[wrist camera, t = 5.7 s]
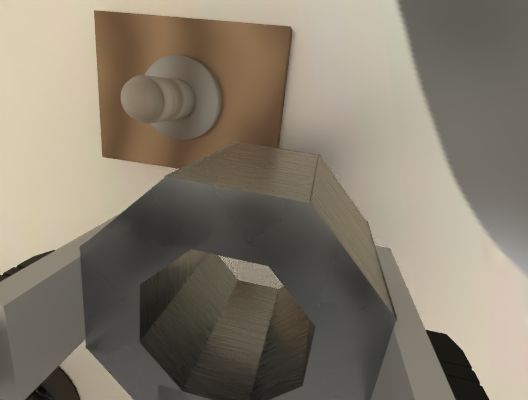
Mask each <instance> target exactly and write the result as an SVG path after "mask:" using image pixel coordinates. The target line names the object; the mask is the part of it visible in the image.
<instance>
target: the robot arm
mask: <svg viewBox="0 0 528 400" xmlns="http://www.w3.org/2000/svg"><path fill="white" fill-rule="evenodd" d="M119 215H120V214H119ZM119 215H117V216H119ZM117 216H115V217H113V218H112V219H110V220H108V221H106V222H105V223H103V224H101V225H99V226H98V227H96V228H94V229H92V230H91V231H89V232H87V233H85V234H84V235H82V236H80V237H78V238H77V239H75V240H73V241H71V242H69V243H68V244H66V245H64V246H62V247H61V248H59V249H57V250H52V251H49V252H46V253H43V254H40V255H37V256H34V257H32V258H30V259H28V260H26V261H24V262H23V263H21V264H19V265H17V267H16V268H15V267H13V268H12V269H10V270H8V271H6V272H4V273H3V275H0V400H79V398H78V395H77V392H76V390H75V388H74V386H73V385H72V383H71V382H70V380H69V379H68V378H67V376H66V375H65V374H64V373H63V372H62V371H61V370H60V369H59V368H58V366H59V365H60V364H61V363H62V362H63V361H64V360H65V359H66V358H67V357H68V356H69V355H70V354H71V353H72V352H73V351H74V350H75V349H76V348H77V347H78V346H79V345H80V344H81V343H82V342H83V341H84V340H85V339H86V336H85V320H84V304H83V289H82V273H81V257H80V249H79V248H80V245H82V244H84V243H85V242H87V241H88V240H89V239H91V238H92V237H93V236H94V235H95V234H97V233H98V232H99V231H100V230H102V229H103V228H104V227H105V226H106V225H108V224H109V223H110V222H111V221H113V220H114V219H115V218H116V217H117ZM375 247H376V251H377V254H378V257H379V260H380V264H381V267H382V270H383V274H384V277H385V280H386V283H387V287H388V290H389V293H390V296H391V300H392V303H393V306H394V310H395V313H396V316H397V321H396V323H395V326H394V328H393V331H392V334H391V337H390V341H389V344H388V347H387V350H386V353H385V356H384V360H383V363H382V366H381V369H380V372H379V375H378V378H377V381H376V384H375V388H374V391H373V394H372V397H371V400H489V398H488V396H487V394H486V393H485V391H484V389H483V387H482V386H480V382H479V380H478V378H477V376H476V374H475V372H474V371H472V367H471V365H470V363H469V361H468V360H467V358H466V356H465V354H464V352H463V350H462V349H461V348H460V347H459V346H458V345H457V344H456V343H455V342H454V341H453V340H452V339H451V338H450V337H449V336H448V335H447V334H442V333H438V332H433V331H429V330H425V328H424V326H423V323H422V321H421V319H420V316H419V314H418V312H417V309H416V307H415V305H414V303H413V300H412V298H411V296H410V293H409V291H408V289H407V286H406V284H405V282H404V279H403V277H402V275H401V273H400V270H399V268H398V266H397V263H396V261H395V259H394V256H393V254H392V252H391V250H390V248H385V247H379V246H375Z"/></svg>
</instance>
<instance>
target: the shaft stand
mask: <svg viewBox="0 0 528 400" xmlns="http://www.w3.org/2000/svg"><path fill="white" fill-rule="evenodd" d="M94 18H95V35H96V53H97V70H98V87H99V104H100V122H101V139H102V156H103V157H106V158H113V159H120V160H126V161H133V162H139V163H146V164H153V165H159V166H166V167H172V168H179V169H180V168H182V167H185V166H187V165H189V164H191V163H193V162H195V161H197V160H199V159H201V158H203V157H205V156H207V155H210V154H212V153H214V152H216V151H218V150H220V149H222V148H224V147H226V146H228V145H230V144H232V143H235V142H241V143H247V144H254V145H260V146H266V147H272V148H278V146H279V138H280V130H281V121H282V113H283V105H284V96H285V88H286V80H287V71H288V63H289V54H290V46H291V38H292V29H291V27H288V26H276V25H264V24H252V23H240V22H228V21H216V20H204V19H191V18H179V17H167V16H155V15H143V14H131V13H119V12H106V11H94Z"/></svg>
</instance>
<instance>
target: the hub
mask: <svg viewBox="0 0 528 400" xmlns="http://www.w3.org/2000/svg"><path fill="white" fill-rule="evenodd" d="M79 249H80V257H81V273H82V289H83V304H84V320H85V336H86V346H85V347H86V349H88V350H89V351H90V352H91V353H92V354H93V355H94V356H95V358H96V359H97V360H98V361H99V362H100V363H101V364H102V365H103V366H104V367H105V368H106V370H107V371H108V372H109V373H110V374H111V375H112V376H113V377H114V378H115V379H116V380H117V382H118V383H119V384H120V385H121V386H122V387H123V388H124V389H125V390H126V391H127V393H128V394H129V395H130V396H131V397H132V398H133V399H134V400H371V397H372V394H373V391H374V388H375V384H376V381H377V378H378V375H379V372H380V369H381V366H382V363H383V360H384V356H385V353H386V350H387V347H388V344H389V341H390V337H391V334H392V331H393V328H394V326H395V323H396V321H397V316H396V313H395V310H394V306H393V303H392V300H391V296H390V293H389V290H388V287H387V283H386V280H385V277H384V274H383V270H382V267H381V264H380V260H379V257H378V254H377V251H376V247H375V244H374V241H373V238H372V234H371V231H370V228H369V225H368V221H366V220H365V219H364V217H363V216H362V214H361V213H360V211H359V210H358V209H357V207H356V206H355V204H354V203H353V202H352V200H351V199H350V197H349V196H348V195H347V193H346V192H345V190H344V189H343V187H342V186H341V185H340V183H339V182H338V180H337V179H336V178H335V176H334V175H333V173H332V172H331V171H330V169H329V168H328V166H327V165H326V163H325V162H324V161H323V159H322V158H321V156H320V155H314V154H308V153H302V152H296V151H290V150H284V149H278V148H272V147H266V146H260V145H254V144H247V143H241V142H235V143H232V144H230V145H228V146H226V147H224V148H222V149H220V150H218V151H216V152H214V153H212V154H210V155H207V156H205V157H203V158H201V159H199V160H197V161H195V162H193V163H191V164H189V165H187V166H185V167H182V168H180V169H178V170H176V171H174V172H172V173H170V174H168V175H166V176H165V178H164V179H163V180H161V181H160V182H159V183H158V184H157V185H155V186H154V187H153V188H152V189H150V190H149V191H148V192H147V193H146V194H144V195H143V196H142V197H141V198H139V199H138V200H137V201H136V202H135V203H133V204H132V205H131V206H130V207H128V208H127V209H126V210H125V211H124V212H122V213H121V214H120V215H119V216H117V217H116V218H115V219H114V220H113V221H111V222H110V223H109V224H108V225H106V226H105V227H104V228H103V229H102V230H100V231H99V232H98V233H97V234H95V235H94V236H93V237H92V238H91V239H89V240H88V241H87V242H85V243H84V244H82V245H80V248H79ZM218 255H220V256H225V257H229V258H234V259H239V260H243V261H248V262H253V263H257V264H262V265H266V266H269V267H270V268H271V270H272V271H273V272H274V273H275V275H276V276H277V277H278V279H279V280H280V281H281V282H282V284H283V285H284V286H283V287H282V288H280V289H275V288H270V287H266V286H262V285H257V284H253V283H248V282H244V281H239V280H237V278H236V277H235V276H234V275H233V273H232V272H231V271H230V270H229V268H228V267H227V266H226V265H225V263H224V262H223V261H222V260H221V258H220V257H219V256H218Z"/></svg>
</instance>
